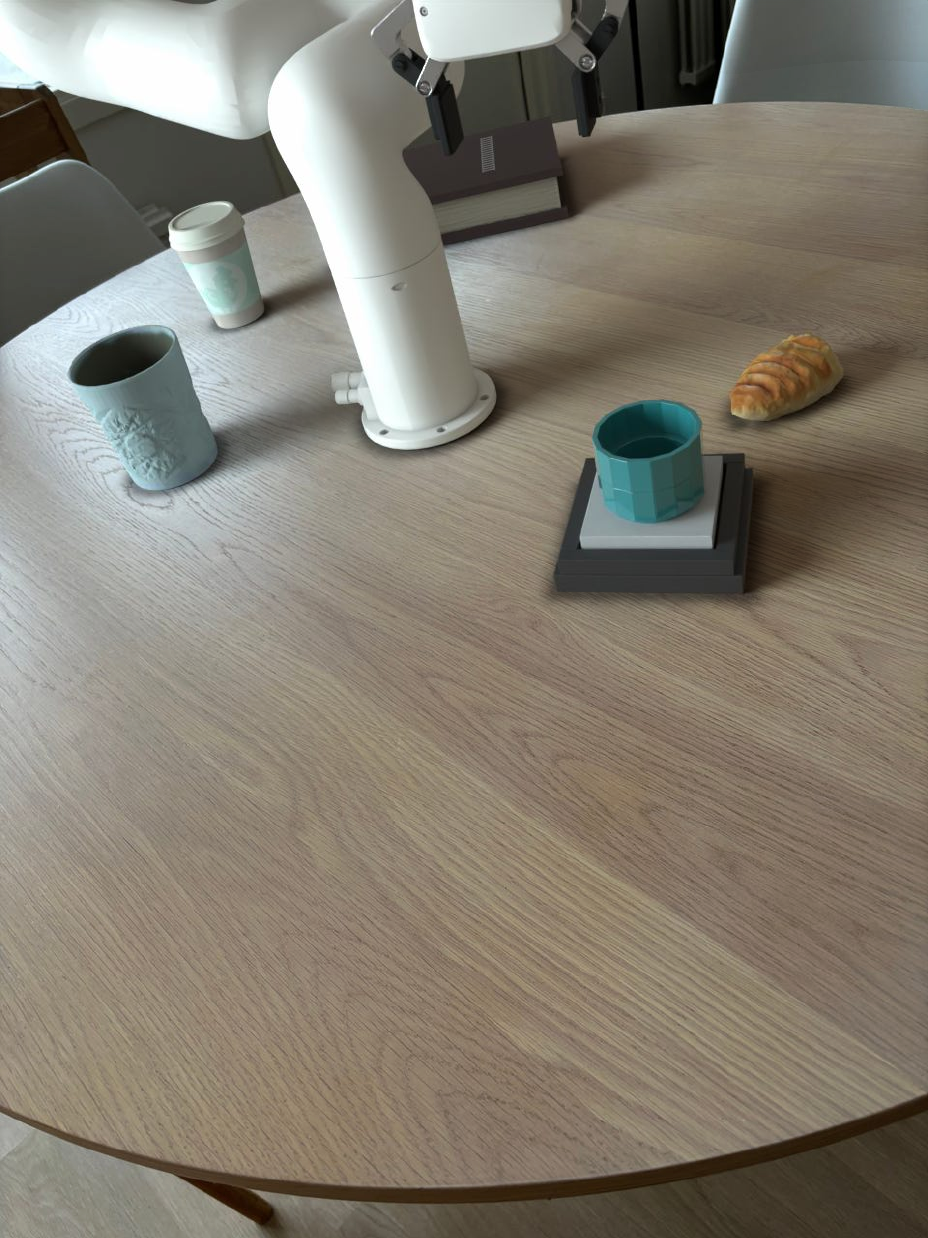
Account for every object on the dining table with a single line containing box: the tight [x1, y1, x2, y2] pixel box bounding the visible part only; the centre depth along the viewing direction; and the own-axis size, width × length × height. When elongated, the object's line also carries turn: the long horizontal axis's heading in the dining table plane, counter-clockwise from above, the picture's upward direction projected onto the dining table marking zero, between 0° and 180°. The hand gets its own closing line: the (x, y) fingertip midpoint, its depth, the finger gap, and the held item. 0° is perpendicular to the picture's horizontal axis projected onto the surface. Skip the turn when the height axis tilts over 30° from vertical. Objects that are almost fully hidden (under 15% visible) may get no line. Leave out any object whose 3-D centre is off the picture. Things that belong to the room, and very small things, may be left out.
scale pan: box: [580, 456, 723, 549], centre depth 72 cm, size 9×9×2 cm
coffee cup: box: [168, 200, 265, 330], centre depth 114 cm, size 8×8×12 cm
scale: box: [552, 452, 754, 595], centre depth 73 cm, size 13×12×3 cm
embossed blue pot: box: [66, 324, 219, 491], centre depth 93 cm, size 10×10×12 cm
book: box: [402, 115, 570, 246], centre depth 125 cm, size 28×20×6 cm
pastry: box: [729, 333, 845, 422], centre depth 82 cm, size 9×7×4 cm
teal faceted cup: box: [591, 398, 706, 523], centre depth 70 cm, size 7×7×6 cm
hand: (519, 138), depth 70 cm, fingers open, 9 cm apart
